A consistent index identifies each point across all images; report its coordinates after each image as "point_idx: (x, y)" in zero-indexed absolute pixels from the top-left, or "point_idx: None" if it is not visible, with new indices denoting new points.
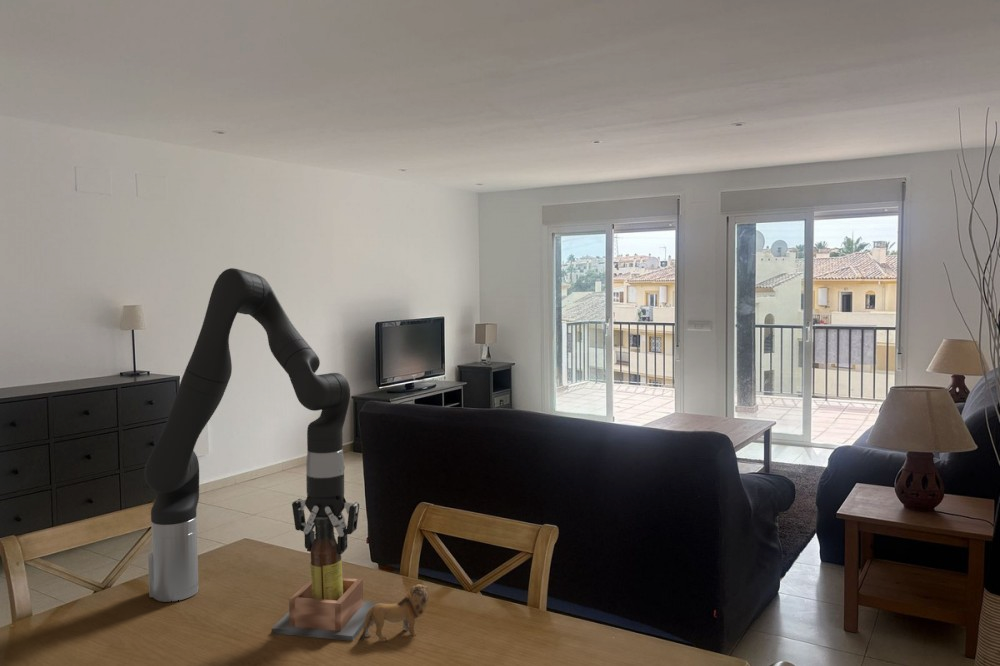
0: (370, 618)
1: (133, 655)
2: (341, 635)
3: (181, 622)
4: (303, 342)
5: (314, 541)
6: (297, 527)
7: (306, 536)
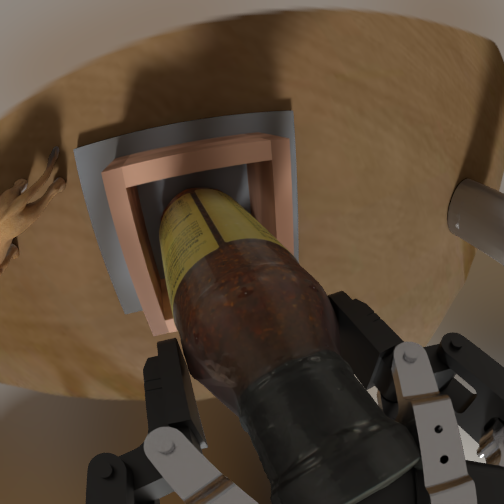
0: (38, 201)
1: (432, 26)
2: (102, 141)
3: (436, 124)
4: None
5: (334, 339)
6: (458, 342)
7: (388, 339)
